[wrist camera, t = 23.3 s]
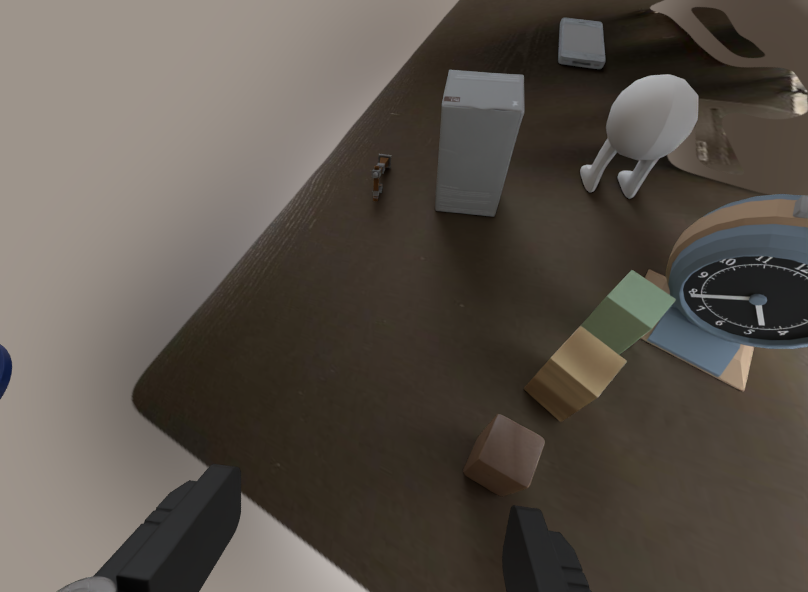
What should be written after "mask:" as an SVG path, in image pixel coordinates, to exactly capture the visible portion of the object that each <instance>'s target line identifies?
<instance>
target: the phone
mask: <svg viewBox="0 0 808 592" xmlns="http://www.w3.org/2000/svg"><path fill="white" fill-rule="evenodd" d="M558 62H559V63H560V64H564V65H572V66H579V67H586V68H594V69H602V67H603V66H604V64H605V49H604V37H603V25H602V23H601V22H596V21H588V20H580V19H571V18H562V20H561V23H560V32H559V57H558Z"/></svg>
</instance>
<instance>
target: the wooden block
mask: <svg viewBox="0 0 808 592" xmlns="http://www.w3.org/2000/svg"><path fill="white" fill-rule="evenodd" d="M544 440H545V439H544V438H542V437H541V436H540V435H538V434H536V433H534V432H532V431H530V430H529V429H527V428H525V427H523V426H521V425H519V424H518V423H516V422H514V421H512V420H510V419H508V418H507V417H505V416H503V415H499V414H497V415H496V416H495V417H494V418H493V420H492V421H491V422H490V423H489V424H488V425H487V427H486V428H485V429H484V430H483V431H482V433H481V434H480V435H479V436H478V438H477V440H476V442H475V444H474V447H473V449H472V451H471V453H470V456H469V458H468V460H467V462H466V464H465V467H464V469H463V473H464V474H465V476H467V477H468V478H470V479H472V480H473V481H475V482H477V483H478V484H480V485H482V486H483V487H485V488H487V489H488V490H490V491H492V492H493V493H495V494H497V495H498V496H502V497H503V496H506V495H509V494H512V493H515V492H518V491H521V490H524V489H527V488H528V487H529V486H530V484H531V481H532V478H533V475H534V472H535V470H536V467H537V464H538V461H539V459H540V456H541V453H542V450H543V447H544V445H545V441H544Z"/></svg>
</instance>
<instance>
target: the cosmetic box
mask: <svg viewBox="0 0 808 592" xmlns="http://www.w3.org/2000/svg"><path fill="white" fill-rule="evenodd" d="M523 115H524V75H514V74H500V73H484V72H471V71H458V70H449V73H448V78H447V82H446V87H445V91H444V96H443V101H442V113H441V130H440V144H439V159H438V173H437V187H436V201H435V210H436V211H444V212H453V213H463V214H473V215H483V216H492V217H494V216H495V214H496V211H497V207H498V204H499V200H500V196H501V193H502V189H503V185H504V181H505V178H506V174H507V170H508V167H509V163H510V159H511V156H512V152H513V148H514V145H515V141H516V137H517V134H518V130H519V127H520V124H521V120H522V117H523Z"/></svg>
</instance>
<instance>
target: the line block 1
mask: <svg viewBox="0 0 808 592" xmlns="http://www.w3.org/2000/svg"><path fill="white" fill-rule="evenodd" d="M626 362H627V361H626V360H625V359H624V358H622V357H621V356H620V355H618V354H617V353H616V352H614V351H613V350H612V349H611V348H609V347H608V346H607V345H605V344H604V343H603V342H601V341H600V340H599V339H597V338H596V337H595V336H594V335H592V334H591V333H590V332H588V331H587V330H586V329H584V328H583V327H582V326H580V327H579V328H578V329H577V330H576V331H575V332H574V333H573V334H572V335H571V336H570V337H569V339H568V340H567V341H566V342H565V343H564V344H563V345H562V346H561V347H560V348H559V349H558V350H557V351H556V353H555V354H554V355H553V356H552V357H551V358H550V359H549V360H548V361H547V363H546V364H545V365H544V366H543V367H542V368H541V369H540V370H539V372H538V373H537V374H536V375H535V376H534V377H533V378H532V379H531V381H530V382H529V383H528V384H527V385H526V386H525V387H524V390H525V391H526V392H527V393H529V394H530V395H531V396H532V397H533V398H534V399H535V400H536V401H538V402H539V403H540V404H541V405H542V406H543V407H544V408H545V409H546V410H548V411H549V412H550V413H551V414H552V415H553V416H554V417H555V418H557V419H558V420H559V421H560V422H562V421H563V420H565V419H566V418H568V417H569V416H571V415H572V414H574V413H575V412H577V411H578V410H580V409H581V408H583V407H584V406H586V405H587V404H589V403H590V402H592V401H593V400H595V399H596V398H598V397H599V395H600V394H601V393H602V392H603V390H604V389H605V388H606V387H607V385H608V384H609V383H610V382H611V380H612V379H613V378H614V377H615V375H616V374H617V373H618V372H619V370H620V369H621V368H622V367H623V366H624V364H625V363H626Z"/></svg>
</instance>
